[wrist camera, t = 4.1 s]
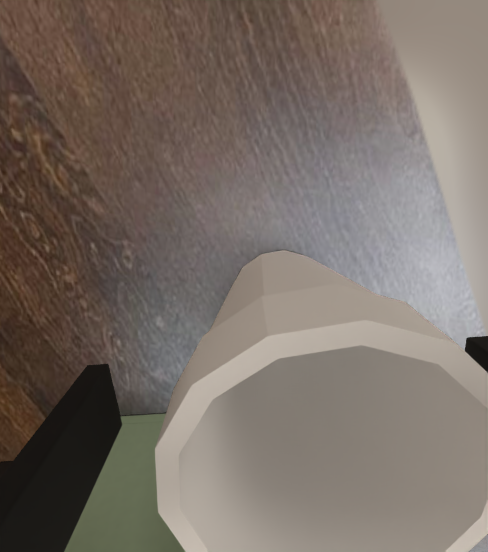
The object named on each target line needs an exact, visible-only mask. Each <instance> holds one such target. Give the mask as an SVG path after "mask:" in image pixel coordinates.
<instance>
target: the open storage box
mask: <svg viewBox="0 0 488 552" xmlns="http://www.w3.org/2000/svg"><path fill="white" fill-rule="evenodd" d="M165 415H166V413H165V414H150V415H135V416H120V417H121V421H122V427H121V429H120V431H119V433H118V435H117V438H116V440H115V442H114V444H113V446H112V449H111V451H110V453H109V455H108V457H107V459H106V462H105V464H104V466H103V468H102V470H101V473H100V475H99V477H98V479H97V481H96V484H95V486H94V488H93V490H92V492H91V494H90V497H89V499H88V501H87V503H86V505H85V508H84V510H83V512H82V514H81V516H80V519H79V521H78V523H77V525H76V527H75V530H74V532H73V534H72V536H71V538H70V540H69V543H68V545H67V547H66V549H65V551H64V552H186V551H185V550H184V549H183V547H182V546H181V544H180V543H179V541H178V540H177V539H176V537H175V536H174V534H173V533H172V531H171V530H170V529H169V527H168V526H167V524H166V523H165V522H164V520H163V519H162V517H161V516H160V514H159V513H158V504H157V484H156V464H155V447H156V444H157V441H158V438H159V434H160V431H161V428H162V425H163V422H164V418H165Z"/></svg>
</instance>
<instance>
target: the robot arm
mask: <svg viewBox="0 0 488 552" xmlns="http://www.w3.org/2000/svg"><path fill="white" fill-rule="evenodd" d="M465 352H466V353H467V354H468V355H469V356H470V357H471V358H473V359H474V360H475V361H476V362H477V363H478V364H479V365H480V366H481V367H482V368H483V369H484V370H485V371H486V372H487V373H488V336H482V337H469V338H467V340H466V347H465ZM121 427H122V421H121V417H120V412H119V408H118V404H117V399H116V395H115V391H114V386H113V382H112V378H111V373H110V369H109V365H108V364H100V365H87V367H86V368H85V369H84V371H83V372H82V373H81V374H80V376H79V377H78V378H77V380H76V381H75V382H74V383H73V385H72V386H71V387H70V389H69V390H68V391H67V392H66V394H65V395H64V396H63V398H62V399H61V400H60V401H59V403H58V404H57V405H56V407H55V408H54V409H53V410H52V412H51V413H50V414H49V416H48V417H47V418H46V419H45V421H44V422H43V423H42V425H41V426H40V427H39V428H38V430H37V431H36V432H35V434H34V435H33V436H32V437H31V439H30V440H29V441H28V443H27V444H26V445H25V446H24V448H23V449H22V450H21V452H20V453H19V454H18V456H17V457H16V458H15V459H14V461H4V462H0V552H64V551H65V549H66V547H67V545H68V543H69V540H70V538H71V536H72V534H73V532H74V530H75V527H76V525H77V523H78V521H79V519H80V516H81V514H82V512H83V510H84V508H85V505H86V503H87V501H88V499H89V497H90V494H91V492H92V490H93V488H94V486H95V484H96V481H97V479H98V477H99V475H100V473H101V470H102V468H103V466H104V464H105V462H106V459H107V457H108V455H109V453H110V451H111V449H112V446H113V444H114V442H115V440H116V438H117V435H118V433H119V431H120V429H121Z"/></svg>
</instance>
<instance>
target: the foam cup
mask: <svg viewBox="0 0 488 552" xmlns="http://www.w3.org/2000/svg"><path fill="white" fill-rule="evenodd" d="M155 464H156V484H157V504H158V513H159V514H160V516H161V517H162V519H163V520H164V522H165V523H166V524H167V526H168V527H169V529H170V530H171V531H172V533H173V534H174V536H175V537H176V539H177V540H178V541H179V543H180V544H181V546H182V547H183V549H184V550H185V551H186V552H468V551H469V550H471V549H472V548H473V547H474V546H475V545H476V544H477V543H478V542H479V541H480V540H481V539H482V538H484V537H485V536H486V535H487V534H488V373H487V372H486V371H485V370H484V369H483V368H482V367H481V366H480V365H479V364H478V363H477V362H476V361H475V360H474V359H473V358H471V357H470V356H469V355H468V354H467V353H466V352H465V351H464V350H463V349H462V348H461V347H460V346H459V345H458V344H457V343H455V342H454V341H453V340H452V339H450V338H449V337H448V336H447V335H446V334H444V333H443V332H442V331H441V330H439V329H438V328H437V327H436V326H434V325H433V324H432V323H431V322H429V321H428V320H427V319H426V318H424V317H423V316H422V315H421V314H419V313H418V312H417V311H416V310H414V309H413V308H412V307H411V306H409V305H408V304H407V303H406V302H404V301H400V300H396V299H392V298H388V297H385V296H381V295H377V294H375V293H373V292H372V291H370V290H368V289H366V288H364V287H363V286H361V285H359V284H357V283H355V282H353V281H352V280H350V279H348V278H346V277H344V276H342V275H341V274H339V273H337V272H335V271H333V270H331V269H330V268H328V267H326V266H324V265H322V264H321V263H319V262H317V261H315V260H313V259H311V258H310V257H307V256H304V255H301V254H297V253H293V252H290V251H286V250H282V251H276V252H270V253H265V254H261V255H259V256H258V257H256V258H255V259H254V260H252V261H251V262H249V263H248V264H246V265H245V266H244V267H242V269H241V271H240V273H239V274H238V276H237V278H236V280H235V282H234V283H233V285H232V287H231V289H230V291H229V293H228V295H227V297H226V299H225V301H224V303H223V305H222V307H221V309H220V311H219V313H218V315H217V317H216V319H215V321H214V323H213V325H212V327H211V329H210V331H209V332H208V333H206V334H205V335H203V337H202V339H201V341H200V342H199V344H198V346H197V348H196V350H195V351H194V353H193V355H192V357H191V359H190V360H189V362H188V364H187V366H186V368H185V369H184V371H183V373H182V375H181V377H180V378H179V380H178V382H177V384H176V386H175V387H174V390H173V393H172V396H171V399H170V402H169V406H168V409H167V412H166V415H165V418H164V422H163V425H162V428H161V431H160V434H159V438H158V441H157V444H156V447H155Z"/></svg>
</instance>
